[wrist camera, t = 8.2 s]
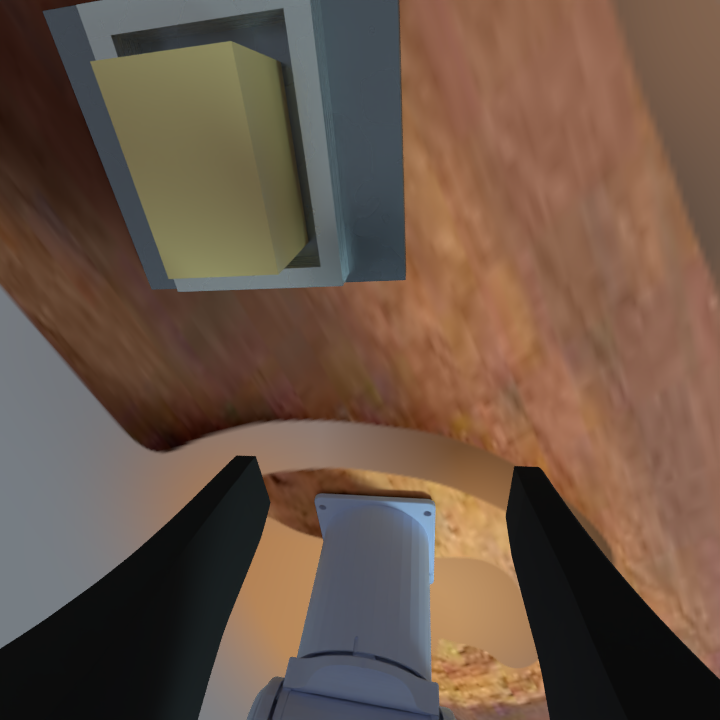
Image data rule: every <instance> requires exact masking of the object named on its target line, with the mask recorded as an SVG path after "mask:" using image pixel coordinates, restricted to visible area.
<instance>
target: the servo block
mask: <svg viewBox="0 0 720 720" xmlns="http://www.w3.org/2000/svg"><path fill="white" fill-rule="evenodd" d="M90 63H91V65H92V68H93V71H94V74H95V77H96V79H97V82H98V85H99V88H100V90H101V93H102V96H103V99H104V101H105V104H106V107H107V110H108V113H109V115H110V118H111V121H112V124H113V126H114V129H115V132H116V135H117V137H118V140H119V143H120V146H121V149H122V151H123V154H124V157H125V160H126V162H127V165H128V168H129V171H130V173H131V176H132V179H133V182H134V185H135V187H136V190H137V193H138V196H139V198H140V201H141V204H142V207H143V209H144V212H145V215H146V218H147V220H148V223H149V226H150V229H151V232H152V234H153V237H154V240H155V243H156V245H157V248H158V251H159V254H160V256H161V259H162V262H163V265H164V268H165V270H166V273H167V276H168V279H182V278H207V277H232V276H256V275H279V274H280V273H281V272H282V270H283V269H284V268H285V267H286V266H287V265H288V264H289V263H290V262H291V261H292V260H293V259H294V257H295V256H296V255H297V254H298V253H299V252H300V251H301V250H302V249H303V248H304V247H305V245H306V244H307V243H308V235H307V229H306V222H305V216H304V209H303V203H302V196H301V190H300V183H299V177H298V171H297V164H296V158H295V151H294V145H293V138H292V132H291V125H290V119H289V112H288V106H287V99H286V93H285V86H284V80H283V73H282V67H281V62H280V61H278V60H275V59H273V58H270V57H268V56H266V55H263V54H261V53H259V52H256V51H254V50H251V49H249V48H247V47H244V46H242V45H240V44H237V43H235V42H232V41H227V42H220V43H214V44H207V45H200V46H193V47H186V48H179V49H172V50H165V51H158V52H152V53H145V54H138V55H131V56H124V57H117V58H110V59H103V60H96V61H90Z"/></svg>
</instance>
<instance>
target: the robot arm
mask: <svg viewBox="0 0 720 720" xmlns="http://www.w3.org/2000/svg"><path fill="white" fill-rule="evenodd" d="M269 506H270V499H269V496H268V493H267V490H266V487H265V484H264V481H263V477H262V474H261V471H260V468H259V465H258V462H257V459H256V456H236V457H234V459H233V460H231V461H230V462H229V463H228V464H227V465H226V466H225V467H224V468H223V469H222V470H221V471H220V472H219V473H218V474H217V475H216V476H215V477H214V478H213V479H212V480H211V481H210V482H209V483H208V484H207V485H206V486H205V487H204V488H203V489H202V490H201V491H200V492H199V493H198V494H197V495H196V496H195V497H194V498H193V499H192V500H191V501H190V502H189V503H188V504H187V505H186V506H185V507H184V508H183V509H182V510H181V511H180V512H178V514H176V515H175V516H174V517H173V518H172V519H171V520H170V521H169V522H168V523H167V524H166V525H165V526H164V527H162V528H161V529H160V530H159V531H158V532H157V533H156V534H154V535H153V536H152V537H151V538H150V539H149V540H148V541H147V542H146V543H144V544H143V545H142V546H141V547H140V548H139V549H138V550H136V551H135V552H134V553H133V554H132V555H131V556H129V557H128V558H127V559H126V560H124V562H122V563H121V564H120V565H118V566H117V567H116V568H114V569H113V570H112V571H111V572H109V573H108V574H107V575H106V576H104V577H103V578H102V579H100V580H99V581H98V582H97V583H95V584H94V585H93V586H91V587H90V588H88V589H87V590H86V591H84V592H83V593H82V594H80V595H79V596H77V597H76V598H75V599H73V600H72V601H70V602H69V603H68V604H66V605H65V606H63V607H62V608H61V609H59V610H58V611H56V612H55V613H54V614H52V615H51V616H49V617H48V618H47V619H45V620H44V621H42V622H41V623H39V624H38V625H36V626H35V627H33V628H32V629H30V630H29V631H27V632H26V633H24V634H23V635H21V636H20V637H18V638H16V639H15V640H13V641H12V642H10V643H9V644H7V645H5V646H4V647H2V648H1V649H0V720H198V717H199V713H200V710H201V706H202V703H203V699H204V696H205V692H206V689H207V685H208V681H209V678H210V675H211V671H212V668H213V665H214V662H215V658H216V655H217V652H218V649H219V645H220V642H221V639H222V635H223V633H224V630H225V627H226V625H227V622H228V619H229V616H230V614H231V611H232V609H233V606H234V604H235V601H236V599H237V597H238V594H239V591H240V589H241V587H242V584H243V582H244V579H245V577H246V574H247V572H248V569H249V567H250V564H251V562H252V559H253V557H254V554H255V552H256V549H257V546H258V544H259V541H260V539H261V536H262V532H263V529H264V525H265V522H266V518H267V514H268V510H269ZM315 506H316V510H317V515H318V519H319V524H320V528H321V532H322V537H323V541H324V542H323V546H322V551H321V555H320V559H319V564H318V568H317V573H316V577H315V581H314V585H313V590H312V594H311V599H310V603H309V607H308V611H307V616H306V620H305V624H304V629H303V633H302V637H301V642H300V646H299V651H298V655H297V658H296V657H290V659H289V663H288V667H287V671H286V675H285V678H282V677H274V678H272V679H271V681H270V682H269V683H268V685H266V686H265V687H264V688H263V689H262V690H261V691H260V692H259V693H258V695H257V696H256V698H255V701H254V702H253V705H252V707H251V709H250V712H249V714H248V717H247V720H456V719H455V716H454V714H453V712H452V711H451V710H450V709H449V708H446V707H440V706H439V685H438V683H436V682H431V633H430V584H432V583H433V581H434V545H435V502H434V501H432V500H430V499H419V498H400V497H381V496H363V495H344V494H325V493H320V494H317V495H316V497H315ZM506 522H507V529H508V536H509V542H510V548H511V555H512V559H513V563H514V567H515V571H516V575H517V578H518V582H519V586H520V590H521V594H522V597H523V601H524V605H525V609H526V613H527V616H528V620H529V624H530V628H531V632H532V635H533V639H534V643H535V647H536V650H537V654H538V659H539V664H540V668H541V672H542V677H543V683H544V689H545V694H546V700H547V705H548V711H549V717H550V720H720V679H719V678H718V677H717V676H716V675H715V674H714V673H713V672H712V671H711V670H710V669H709V668H708V667H707V666H706V665H705V664H704V663H703V662H702V661H701V660H700V659H699V658H698V657H697V656H696V655H695V654H694V653H693V652H692V651H691V650H690V649H689V648H688V647H687V646H686V645H685V644H684V643H683V642H682V641H681V640H680V639H679V638H678V637H677V636H676V635H675V634H674V633H673V632H672V631H671V630H670V629H669V627H668V626H667V625H666V624H665V623H664V622H663V621H662V620H661V619H660V618H659V617H658V616H657V615H656V614H655V613H654V611H653V610H652V609H651V608H650V607H649V606H648V605H647V604H646V603H645V602H644V600H643V599H642V598H641V597H640V596H639V595H638V594H637V593H636V591H635V590H634V589H633V588H632V587H631V586H630V584H629V583H628V582H627V581H626V580H625V579H624V577H623V576H622V575H621V574H620V573H619V572H618V570H617V569H616V568H615V567H614V566H613V564H612V563H611V562H610V561H609V560H608V558H606V556H605V555H604V554H603V552H602V551H601V550H600V548H599V547H598V546H597V545H596V543H595V542H594V541H593V539H592V538H591V537H590V536H589V535H588V533H587V532H586V531H585V529H584V528H583V527H582V525H581V524H580V523H579V522H578V520H577V519H576V517H575V516H574V515H573V513H572V512H571V511H570V509H569V508H568V507H567V505H566V504H565V502H564V501H563V499H562V498H561V497H560V495H559V494H558V492H557V491H556V489H555V488H554V487H553V485H552V484H551V482H550V481H549V479H548V478H547V476H546V475H545V473H544V472H543V470H542V469H541V468H539V467H523V466H514V471H513V477H512V483H511V489H510V495H509V500H508V506H507V511H506Z"/></svg>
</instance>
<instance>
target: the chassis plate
mask: <svg viewBox="0 0 720 720" xmlns="http://www.w3.org/2000/svg"><path fill="white" fill-rule="evenodd" d="M43 14H44V16H45V19H46V21H47V24H48V26H49V29H50V31H51V34H52V36H53V39H54V42H55V44H56V47H57V49H58V52H59V54H60V57H61V59H62V62H63V64H64V67H65V70H66V72H67V75H68V77H69V80H70V82H71V85H72V87H73V90H74V93H75V95H76V98H77V100H78V103H79V105H80V108H81V110H82V113H83V115H84V118H85V121H86V123H87V126H88V128H89V131H90V133H91V136H92V138H93V141H94V143H95V146H96V149H97V151H98V154H99V156H100V159H101V161H102V164H103V166H104V169H105V172H106V174H107V177H108V179H109V182H110V184H111V187H112V189H113V192H114V194H115V197H116V200H117V202H118V205H119V207H120V210H121V212H122V215H123V217H124V220H125V222H126V225H127V228H128V230H129V233H130V235H131V238H132V240H133V243H134V245H135V248H136V250H137V253H138V256H139V258H140V261H141V263H142V266H143V268H144V271H145V273H146V276H147V279H148V281H149V284H150V286H151V289H177V290H178V292H185V291H213V290H241V289H269V288H297V287H325V286H343V285H344V283H345V282H365V281H391V280H405V279H406V247H405V208H404V168H403V129H402V89H401V50H400V11H399V0H100V1H94V2H89V3H83V4H77V5H74V6H69V7H63V8H57V9H52V10H46V11H43ZM227 41H232V42H235V43H237V44H240V45H242V46H244V47H247V48H249V49H251V50H254V51H256V52H259V53H261V54H263V55H266V56H268V57H270V58H273V59H275V60H278V61H280V62H281V67H282V73H283V80H284V86H285V93H286V99H287V106H288V112H289V119H290V125H291V132H292V138H293V145H294V151H295V158H296V164H297V171H298V177H299V183H300V190H301V196H302V203H303V209H304V216H305V222H306V229H307V235H308V243H307V244H306V245H305V247H304V248H303V249H302V250H301V251H300V252H299V253H298V254H297V255H296V256H295V257H294V259H293V260H292V261H291V262H290V263H289V264H288V265H287V266H286V267H285V268H284V269H283V270H282V272H281V273H280V274H279V275H256V276H232V277H207V278H182V279H168V276H167V273H166V270H165V268H164V265H163V262H162V259H161V256H160V254H159V251H158V248H157V245H156V243H155V240H154V237H153V234H152V232H151V229H150V226H149V223H148V220H147V218H146V215H145V212H144V209H143V207H142V204H141V201H140V198H139V196H138V193H137V190H136V187H135V185H134V182H133V179H132V176H131V173H130V171H129V168H128V165H127V162H126V160H125V157H124V154H123V151H122V149H121V146H120V143H119V140H118V137H117V135H116V132H115V129H114V126H113V124H112V121H111V118H110V115H109V113H108V110H107V107H106V104H105V101H104V99H103V96H102V93H101V90H100V88H99V85H98V82H97V79H96V77H95V74H94V71H93V68H92V65H91V63H90V61H96V60H103V59H110V58H117V57H124V56H131V55H138V54H145V53H152V52H158V51H165V50H172V49H179V48H186V47H193V46H200V45H207V44H214V43H220V42H227Z"/></svg>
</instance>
